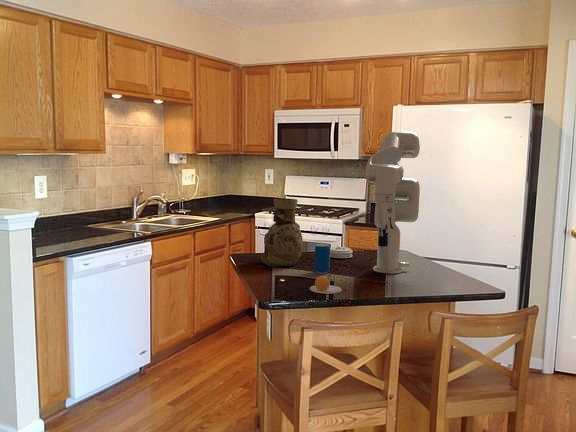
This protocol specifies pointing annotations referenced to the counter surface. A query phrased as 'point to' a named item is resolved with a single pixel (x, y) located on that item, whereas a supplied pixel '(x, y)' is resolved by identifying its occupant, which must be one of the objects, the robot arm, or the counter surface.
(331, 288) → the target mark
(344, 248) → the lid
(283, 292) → the counter surface
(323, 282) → the ball
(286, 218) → the ceramic vessel
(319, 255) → the beverage can
